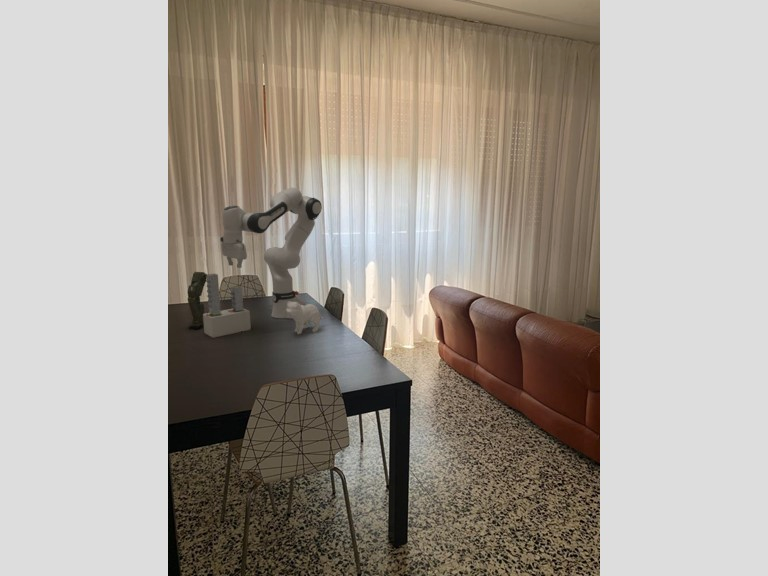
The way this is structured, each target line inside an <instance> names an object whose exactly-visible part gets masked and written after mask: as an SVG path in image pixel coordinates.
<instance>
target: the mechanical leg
mask: <svg viewBox="0 0 768 576" xmlns="http://www.w3.org/2000/svg"><path fill="white" fill-rule="evenodd" d="M206 274H207V273H205V271H204V272H203V271H202V272H201V271H194V272H193V273H192V278H191V283H190V285H188V289H187V296H188V297H187V303H188V305H189V309H190V313H191V315H192V321H191V324H190V326H189V327H188V329H189V330H191V329H193V330H194V331H198V329H199V330H200V329H204V321H203V314H205V306H204V303H201V298H200V297H202V294H203V290H204V288H205V285H206V283H207V282H206V280H207V277H206Z"/></svg>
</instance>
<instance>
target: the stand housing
mask: <svg viewBox="0 0 768 576" xmlns="http://www.w3.org/2000/svg"><path fill="white" fill-rule="evenodd" d="M220 311H221V315H219V316H214V317H211V316H210V315H209V312H208V313H207V312H204V314H203V321H204V327H203V330H204V331H203V332H204V334H205V335H207V336H209V337H210V338H218V337H223V336H228V335H232V334H237V333H241V331H242V332H246V331H250V330H252V329H251V327H252V326H251V314H250V313H251V312H250V310H249V309H246V308H244V307H243V311H240V312H233V310H232V308H229V309H228V308H227V309H223V310H222V309H221V310H220Z"/></svg>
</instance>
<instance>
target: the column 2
mask: <svg viewBox="0 0 768 576" xmlns="http://www.w3.org/2000/svg"><path fill="white" fill-rule="evenodd" d="M230 295H231V297H230V299H231V309H232V310H233V312H240V311H243V308H244V301H243V287H242V286H240V285H237V286H230Z"/></svg>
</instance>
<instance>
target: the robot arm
mask: <svg viewBox="0 0 768 576" xmlns="http://www.w3.org/2000/svg"><path fill="white" fill-rule="evenodd" d="M269 200H270V201H269V205H270V208H269V209H267V210H266V211H264V212H248V211H246V210H244V209H242V208H241V207H240V206H238V205H232V206H231V205H230V206H227V207H225V208H224V209H223V211H222V224H223V225H222V226H223V228H224V230H223V235H222V236H220V238H219V240H220V241H219V242H221V243H220V247H221V253H222V256H223V257H226V260H227V262H228V266H233V265H234V261H233V259H235V260H236V261H237V264H236V268H238V269H242V268H243V267H242V264H243V261H244V260H247V257H248V255H247V254H248V253H247V248H246V245H245V243H244V241H243V239H244V237H243V232H248V233H249V232H250V233H255V234H263V233H265V232H266V231H267V230H268V228H270V226H271V225H272V224H273V223H274V222H276V221H277V220H279V219H280V218H281V217H283V216H284V215H285V214H286V213H287V212H291V213H292V214H293V215H297V218H296V221H295V222H294V223H292V226H291V227H290V228H289V229H288V231H287V232H286V234H285V236H284V240H285V242H284V245H283V246H282V247H279V246H278V247H277V246H275V247H273V246H272V247H269V248H267V249H265V251H264V253H263V259H264V262H265V264H266V265H267V266H268V269H269V272H270V275H271V279H272V291H271V292H272V294H271V295H272V302H273V303H272V310H271V311H272V312H271V315H270V316H271V317H272V318H276V319H293V317H292V316H289V315H288V314H287V312H286V309H287V303H288V302H289V301H290V302H297V303H299V304H300V305H304V306H305V305H306V304H305V301H304V300H301V299H300V298H298V297H297V296H298V295H299V294H300V292H299V291H297V290H294V288H293V283H294V282H293V276H292V275H291V274H290V271H289V269H290V270H291V269H295V268H298V266H299V265H300V262H301V257H300V256H301V255H300V252H301V249H302V247H303V245H304V244H305V243H306V241H307V239H309V236H310V235H311V234H312V231H313V230H314V227H315V225H316V223H315V222H316V221H315V220H316V219H318V217H319V215H320V214H321V212H322V209H323V207H322V202H321V200H319V199H318V198H316V197H310V196H307V195H303V194H302V192H301V190H299V189H298V188H296V187H290V188H287V189H284V190H281V191H278V192H277V193H276V194H274V195H273V196H271V198H270V199H269Z"/></svg>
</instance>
